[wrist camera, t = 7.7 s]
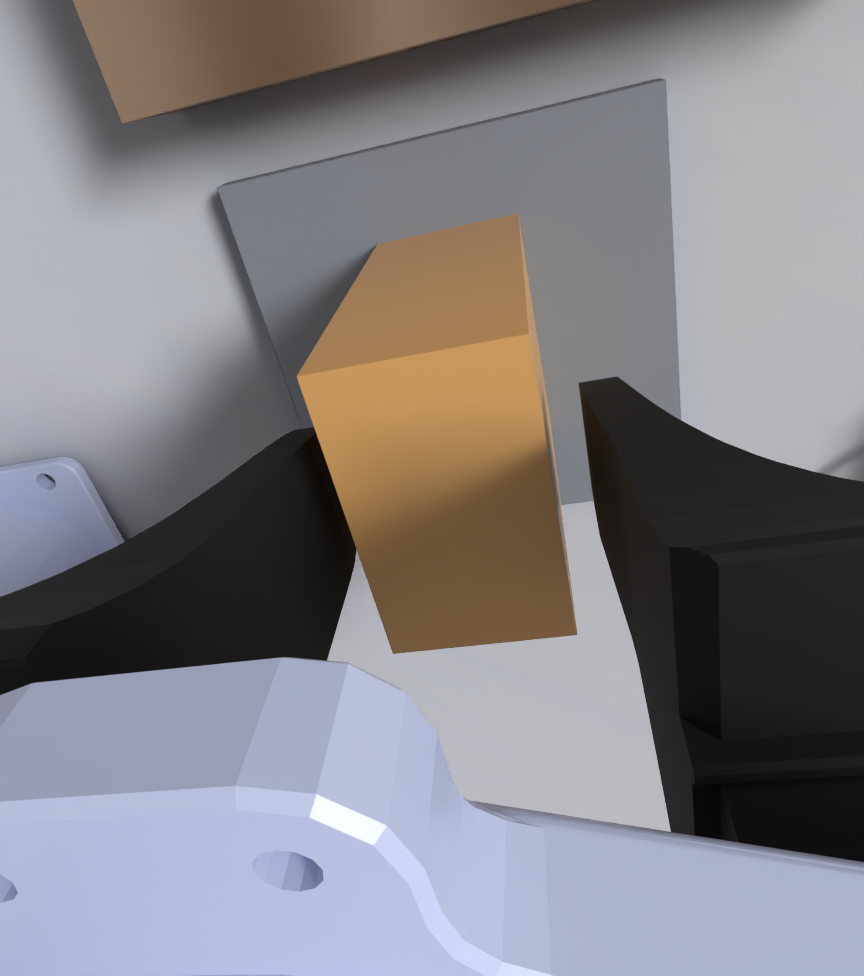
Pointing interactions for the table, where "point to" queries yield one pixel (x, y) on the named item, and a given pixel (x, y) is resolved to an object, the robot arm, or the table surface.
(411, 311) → the plug
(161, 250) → the table surface
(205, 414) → the table surface
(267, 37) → the wooden block holder
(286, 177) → the mat
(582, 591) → the table surface
